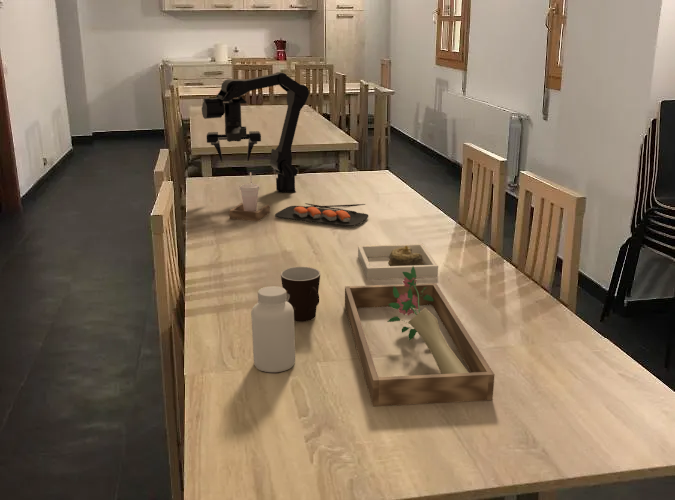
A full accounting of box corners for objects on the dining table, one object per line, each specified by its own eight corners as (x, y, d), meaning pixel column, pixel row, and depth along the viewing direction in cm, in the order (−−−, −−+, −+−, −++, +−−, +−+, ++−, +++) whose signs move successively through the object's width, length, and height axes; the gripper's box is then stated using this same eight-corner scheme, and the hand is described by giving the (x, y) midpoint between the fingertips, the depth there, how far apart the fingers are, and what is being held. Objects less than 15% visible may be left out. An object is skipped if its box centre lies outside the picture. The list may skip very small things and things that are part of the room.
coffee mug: (281, 308, 161) (280, 267, 158) (319, 307, 162) (319, 266, 159) (282, 330, 150) (280, 286, 147) (322, 329, 151) (322, 285, 148)
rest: (241, 210, 239) (241, 202, 238) (269, 213, 236) (269, 204, 235) (229, 218, 230) (229, 210, 229) (258, 221, 227) (258, 212, 226)
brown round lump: (401, 275, 184) (400, 255, 182) (380, 264, 192) (379, 245, 190) (432, 265, 188) (431, 246, 186) (411, 255, 196) (410, 237, 194)
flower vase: (436, 430, 128) (377, 315, 157) (499, 405, 129) (429, 296, 158) (425, 385, 121) (366, 274, 150) (491, 360, 122) (420, 254, 151)
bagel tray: (422, 254, 197) (422, 243, 196) (437, 277, 180) (438, 266, 179) (357, 256, 195) (358, 245, 194) (367, 279, 178) (367, 268, 177)
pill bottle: (271, 350, 141) (269, 280, 137) (303, 361, 137) (302, 289, 132) (244, 366, 135) (241, 293, 130) (277, 378, 131) (275, 302, 126)
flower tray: (435, 303, 164) (436, 283, 162) (492, 399, 124) (494, 374, 122) (344, 306, 162) (344, 286, 160) (372, 406, 122) (373, 380, 120)
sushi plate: (271, 221, 229) (270, 210, 228) (310, 199, 255) (310, 189, 254) (355, 232, 219) (355, 220, 217) (387, 208, 245) (387, 197, 244)
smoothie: (260, 217, 230) (259, 174, 226) (240, 217, 229) (238, 175, 225) (259, 211, 236) (258, 170, 232) (240, 212, 235) (238, 170, 231)
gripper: (205, 120, 238) (207, 166, 243) (261, 119, 241) (262, 165, 246) (205, 116, 249) (208, 160, 254) (259, 115, 251) (260, 158, 256)
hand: (234, 161), depth 252 cm, fingers open, 9 cm apart
